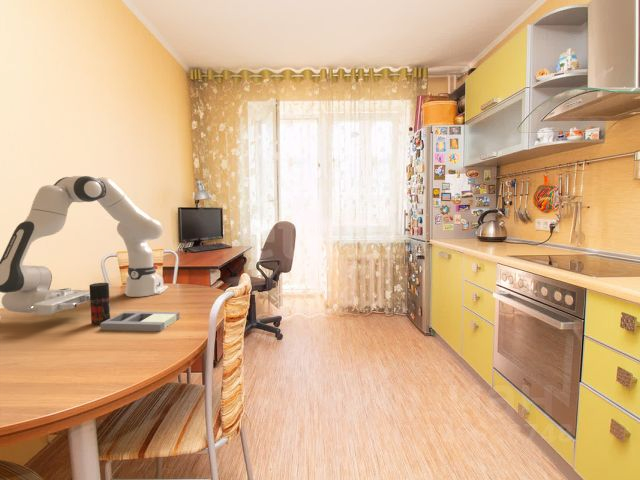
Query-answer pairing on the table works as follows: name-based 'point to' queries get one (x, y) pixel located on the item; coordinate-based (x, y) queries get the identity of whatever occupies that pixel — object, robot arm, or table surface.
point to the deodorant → (99, 303)
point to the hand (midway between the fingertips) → (85, 302)
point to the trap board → (140, 321)
